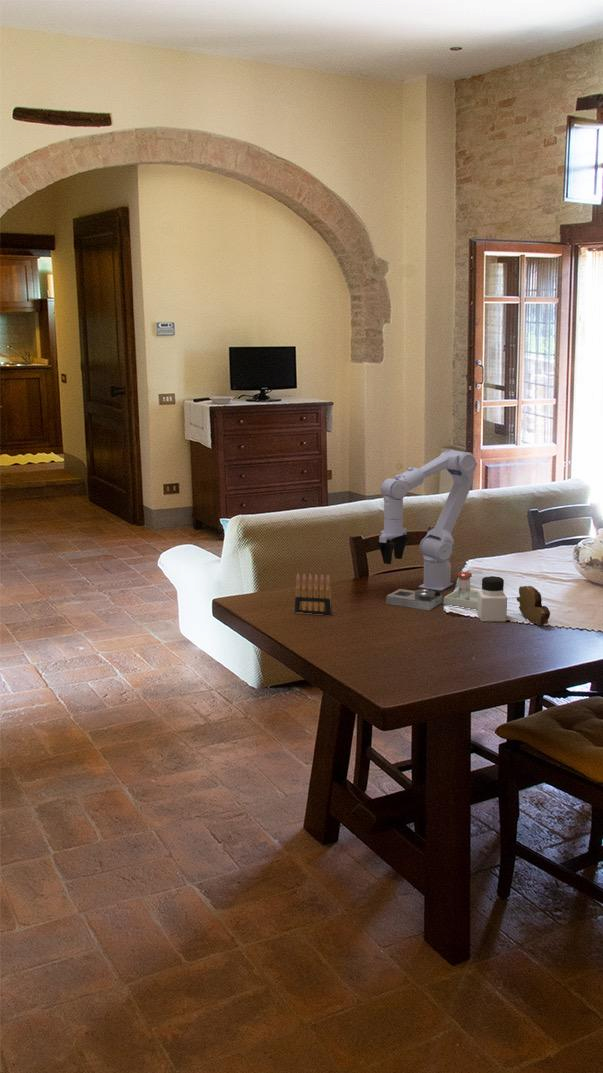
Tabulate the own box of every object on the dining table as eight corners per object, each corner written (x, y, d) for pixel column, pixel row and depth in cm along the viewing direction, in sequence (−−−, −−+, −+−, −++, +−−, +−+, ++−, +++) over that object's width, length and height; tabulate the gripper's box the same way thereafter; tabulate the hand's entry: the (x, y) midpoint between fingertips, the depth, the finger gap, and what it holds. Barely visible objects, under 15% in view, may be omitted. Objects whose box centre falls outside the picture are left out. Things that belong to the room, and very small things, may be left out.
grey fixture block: (399, 596, 303) (399, 581, 302) (441, 603, 296) (442, 587, 295) (386, 603, 296) (386, 588, 295) (429, 610, 289) (429, 594, 288)
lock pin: (456, 600, 297) (457, 571, 295) (470, 600, 297) (471, 571, 295) (456, 603, 293) (457, 575, 291) (471, 604, 293) (472, 575, 291)
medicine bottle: (506, 621, 277) (507, 580, 274) (481, 621, 277) (482, 580, 275) (501, 614, 284) (503, 574, 281) (477, 614, 284) (478, 574, 282)
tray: (458, 596, 303) (458, 588, 302) (492, 601, 297) (492, 593, 296) (443, 605, 294) (443, 597, 293) (478, 610, 288) (478, 602, 287)
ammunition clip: (332, 614, 286) (331, 574, 283) (330, 615, 284) (330, 575, 282) (296, 612, 288) (295, 572, 286) (294, 613, 286) (294, 573, 284)
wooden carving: (555, 628, 270) (557, 593, 268) (541, 630, 269) (542, 595, 267) (524, 612, 286) (526, 579, 284) (510, 614, 284) (511, 580, 282)
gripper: (392, 512, 310) (391, 554, 313) (370, 520, 298) (370, 564, 301) (412, 514, 306) (412, 557, 309) (391, 522, 294) (391, 567, 297)
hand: (392, 561), depth 305 cm, fingers open, 7 cm apart
